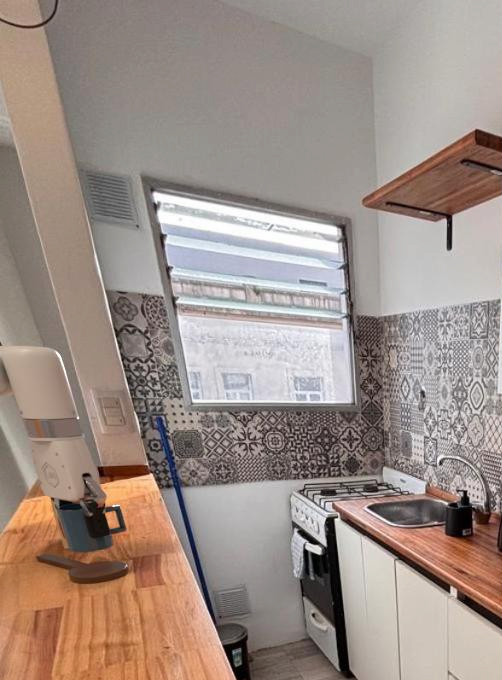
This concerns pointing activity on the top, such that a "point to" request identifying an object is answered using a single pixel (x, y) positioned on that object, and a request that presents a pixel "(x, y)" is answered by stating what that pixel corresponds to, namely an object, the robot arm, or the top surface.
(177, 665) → the top surface
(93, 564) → the spoon
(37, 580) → the top surface
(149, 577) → the top surface
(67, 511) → the blue mug
